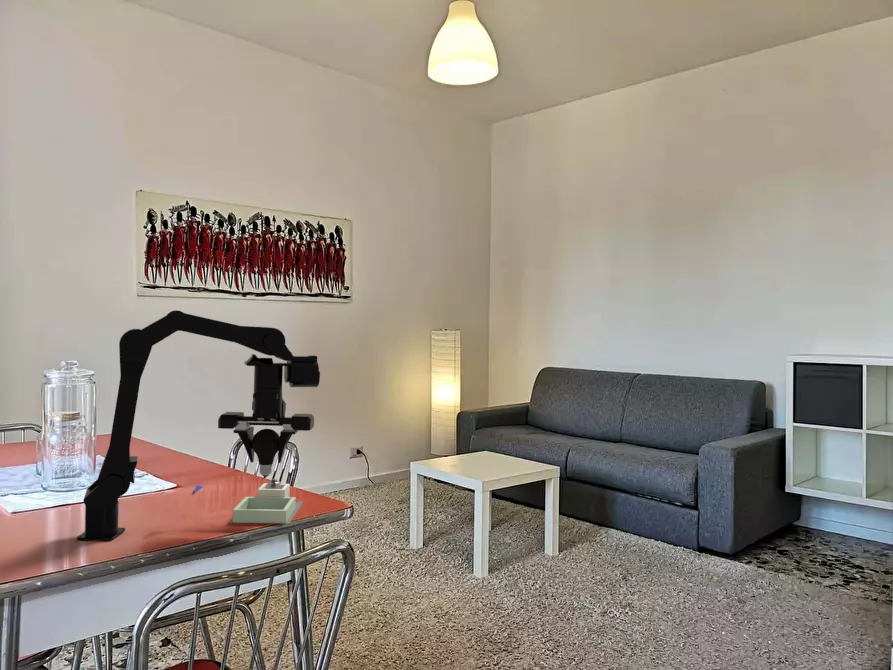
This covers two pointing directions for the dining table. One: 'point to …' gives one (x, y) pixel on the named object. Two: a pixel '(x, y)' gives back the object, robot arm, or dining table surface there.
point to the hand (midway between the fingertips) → (265, 462)
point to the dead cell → (274, 484)
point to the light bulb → (266, 449)
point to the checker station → (267, 507)
